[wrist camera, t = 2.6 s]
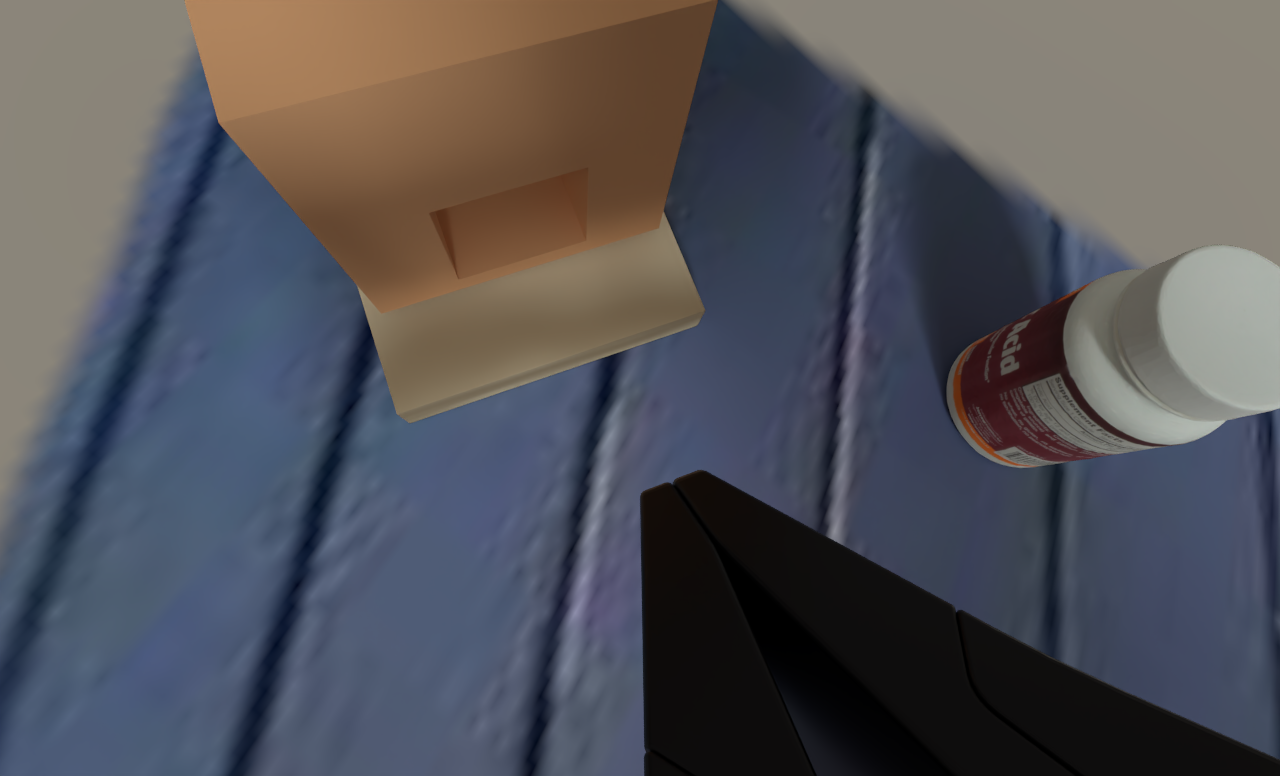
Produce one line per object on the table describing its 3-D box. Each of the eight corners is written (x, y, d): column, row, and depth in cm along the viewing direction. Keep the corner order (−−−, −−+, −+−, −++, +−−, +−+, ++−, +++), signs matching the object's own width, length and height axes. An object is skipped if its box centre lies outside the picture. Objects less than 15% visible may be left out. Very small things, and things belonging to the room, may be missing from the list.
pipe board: (696, 325, 22) (797, 143, 12) (409, 423, 21) (246, 306, 10) (567, 13, 25) (561, -355, 15) (301, 77, 23) (84, -289, 13)
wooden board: (658, 228, 21) (718, -1, 12) (381, 313, 19) (218, 123, 11) (626, 149, 21) (660, -125, 13) (354, 226, 20) (178, -24, 11)
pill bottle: (996, 311, 24) (1216, 189, 15) (1095, 407, 23) (1377, 332, 15) (914, 396, 22) (1103, 313, 14) (1015, 499, 22) (1273, 472, 14)
